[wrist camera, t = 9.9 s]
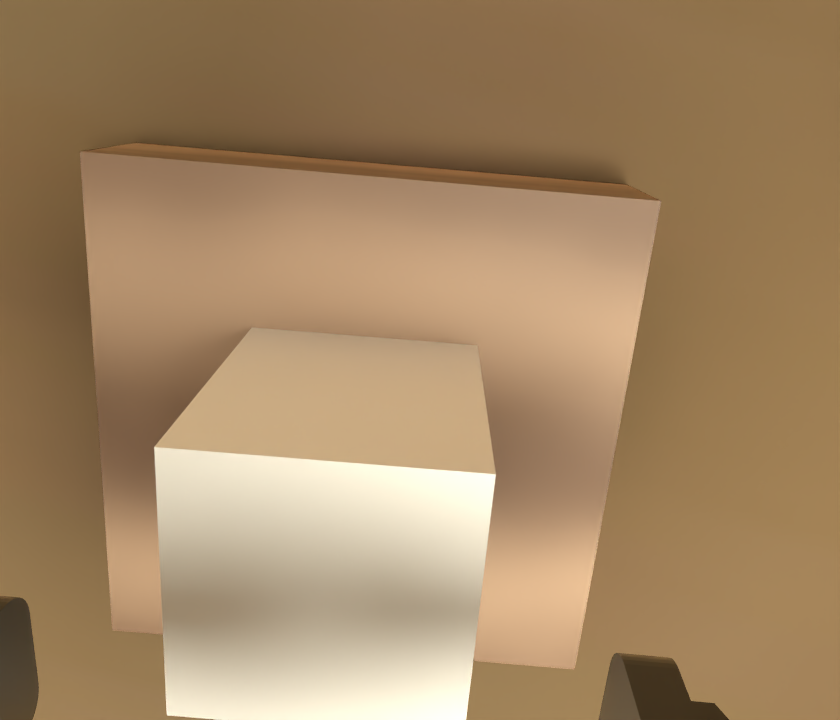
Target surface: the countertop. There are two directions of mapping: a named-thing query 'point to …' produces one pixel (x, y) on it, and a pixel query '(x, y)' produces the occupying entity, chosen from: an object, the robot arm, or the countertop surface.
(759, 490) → the countertop surface
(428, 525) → the cube
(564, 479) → the base
